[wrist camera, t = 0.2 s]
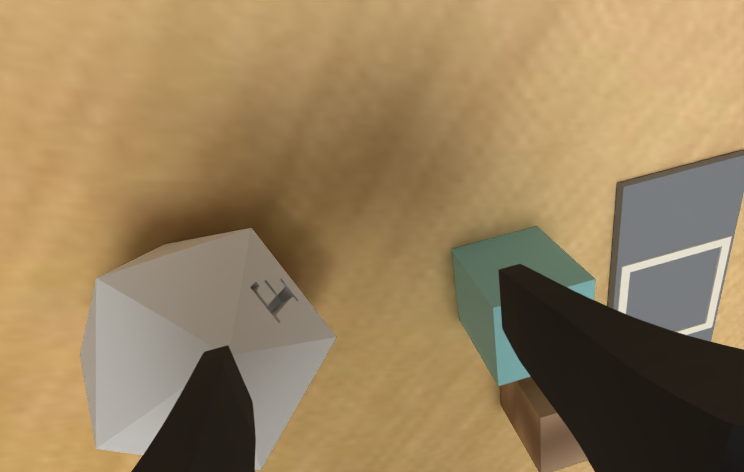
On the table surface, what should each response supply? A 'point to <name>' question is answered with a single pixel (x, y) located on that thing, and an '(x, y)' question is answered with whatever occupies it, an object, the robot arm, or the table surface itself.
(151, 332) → the die
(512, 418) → the walnut block
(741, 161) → the grey board with square
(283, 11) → the table surface
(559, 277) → the teal block
